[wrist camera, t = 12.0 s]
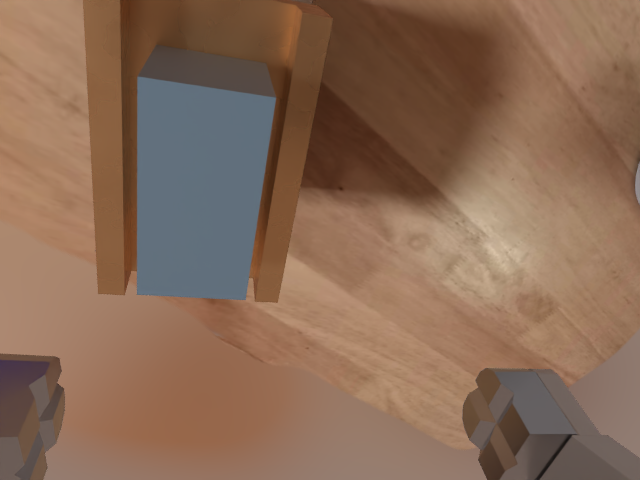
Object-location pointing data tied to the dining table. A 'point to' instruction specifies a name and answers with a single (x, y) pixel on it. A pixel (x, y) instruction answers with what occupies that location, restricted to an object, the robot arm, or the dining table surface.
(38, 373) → the robot arm
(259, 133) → the blue-grey rectangular block
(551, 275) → the dining table surface
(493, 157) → the dining table surface
